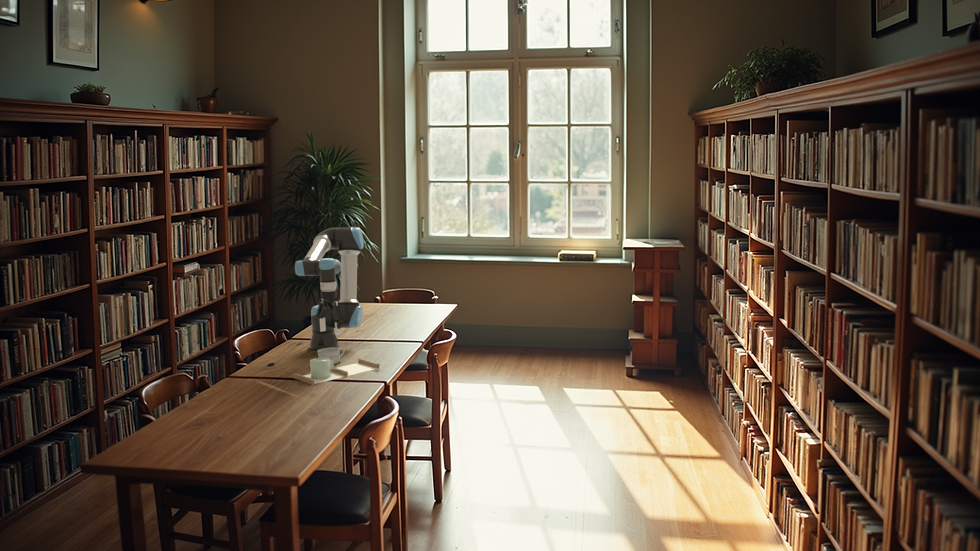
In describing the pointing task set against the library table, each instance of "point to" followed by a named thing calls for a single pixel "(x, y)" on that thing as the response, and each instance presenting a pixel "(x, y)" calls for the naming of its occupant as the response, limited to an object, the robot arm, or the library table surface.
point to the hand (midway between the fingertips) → (330, 333)
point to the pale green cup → (321, 368)
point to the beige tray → (342, 371)
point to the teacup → (331, 354)
